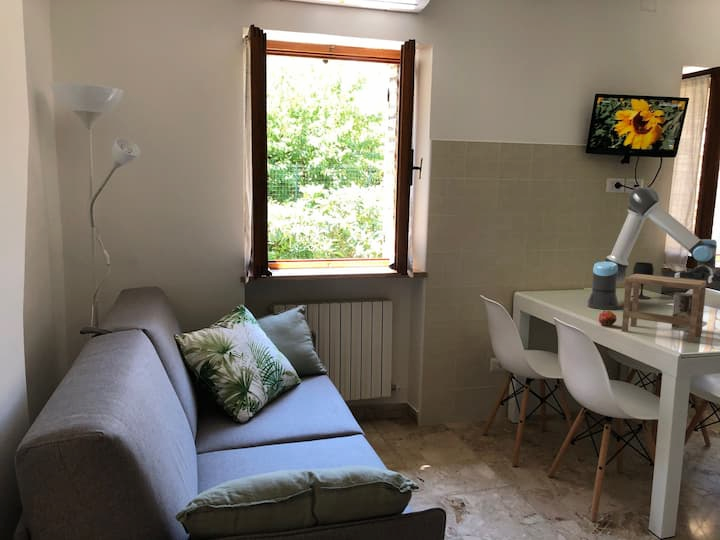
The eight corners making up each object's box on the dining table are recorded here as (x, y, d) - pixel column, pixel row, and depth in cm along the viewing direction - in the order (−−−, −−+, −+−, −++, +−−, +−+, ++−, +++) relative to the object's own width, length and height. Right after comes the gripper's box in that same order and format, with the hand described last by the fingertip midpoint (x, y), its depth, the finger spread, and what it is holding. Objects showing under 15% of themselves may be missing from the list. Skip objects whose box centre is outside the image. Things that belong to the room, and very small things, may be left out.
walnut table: (631, 325, 265) (635, 273, 261) (701, 335, 247) (706, 280, 243) (621, 331, 254) (625, 277, 250) (693, 342, 236) (699, 285, 232)
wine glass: (653, 299, 325) (656, 264, 322) (633, 299, 327) (636, 264, 324) (648, 296, 335) (651, 262, 332) (629, 295, 337) (631, 261, 334)
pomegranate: (617, 332, 260) (614, 315, 267) (618, 322, 255) (615, 305, 262) (600, 332, 262) (597, 316, 269) (600, 322, 258) (597, 305, 264)
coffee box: (694, 329, 258) (698, 294, 256) (694, 332, 253) (697, 296, 251) (671, 326, 263) (675, 291, 261) (670, 329, 258) (674, 294, 255)
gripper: (731, 283, 270) (723, 289, 255) (672, 278, 287) (661, 283, 271) (732, 268, 269) (724, 273, 253) (673, 263, 285) (662, 267, 270)
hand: (692, 278), depth 262 cm, fingers open, 13 cm apart
